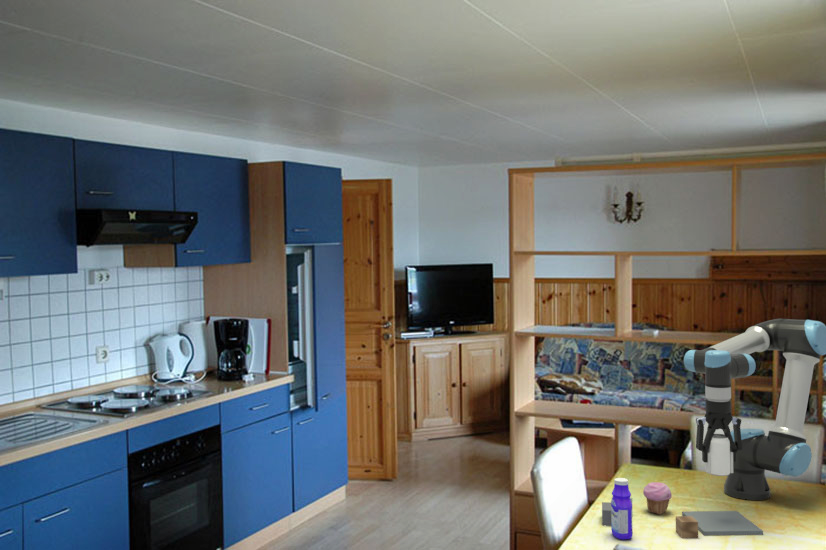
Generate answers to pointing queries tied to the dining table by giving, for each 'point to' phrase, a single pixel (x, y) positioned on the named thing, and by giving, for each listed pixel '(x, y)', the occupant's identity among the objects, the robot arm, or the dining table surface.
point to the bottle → (621, 510)
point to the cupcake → (657, 497)
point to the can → (720, 455)
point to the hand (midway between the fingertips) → (719, 472)
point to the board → (723, 523)
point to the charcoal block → (606, 513)
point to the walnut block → (686, 527)
